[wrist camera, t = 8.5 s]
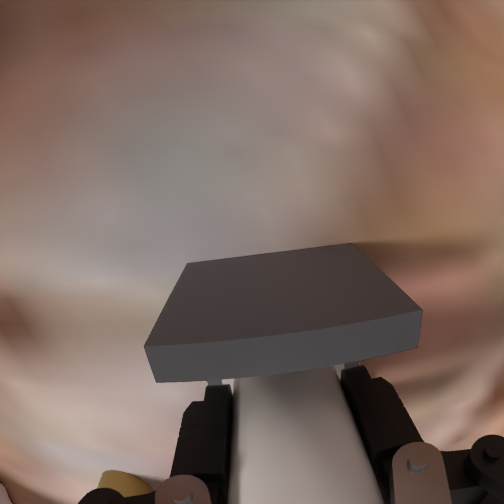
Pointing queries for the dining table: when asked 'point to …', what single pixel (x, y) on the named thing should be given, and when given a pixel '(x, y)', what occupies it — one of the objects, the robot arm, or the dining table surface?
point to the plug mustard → (124, 483)
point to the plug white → (297, 442)
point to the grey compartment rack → (279, 316)
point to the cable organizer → (4, 495)
